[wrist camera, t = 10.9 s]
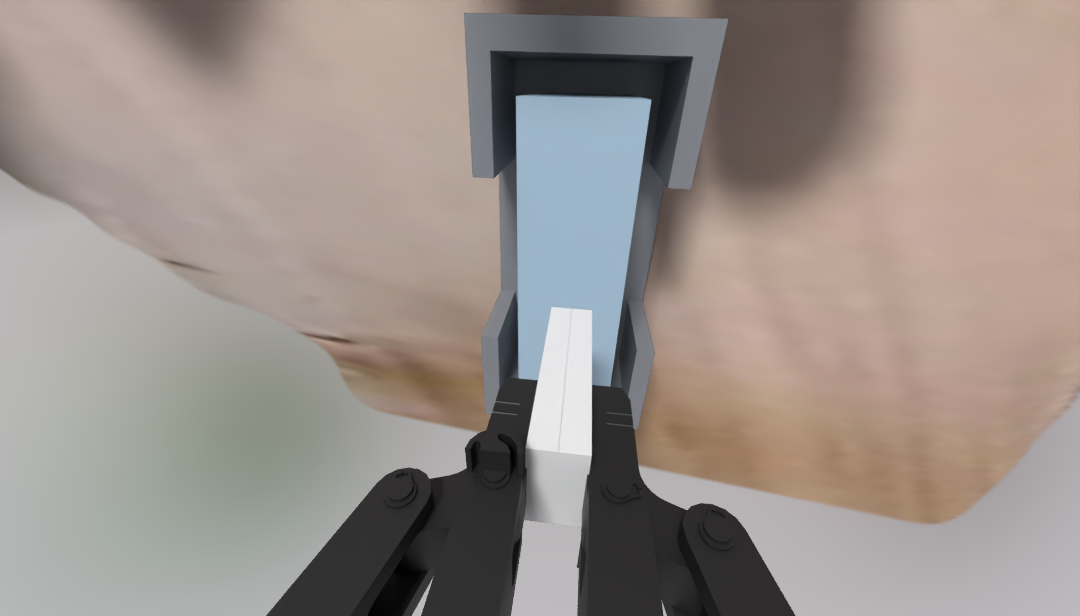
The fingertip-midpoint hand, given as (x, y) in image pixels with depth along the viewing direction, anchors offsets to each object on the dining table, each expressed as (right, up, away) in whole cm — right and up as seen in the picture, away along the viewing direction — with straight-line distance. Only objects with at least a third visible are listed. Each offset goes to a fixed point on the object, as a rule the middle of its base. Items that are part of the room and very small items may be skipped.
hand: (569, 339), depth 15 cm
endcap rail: (+1, +6, +11) cm, 13 cm away
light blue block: (+1, +6, +10) cm, 12 cm away
